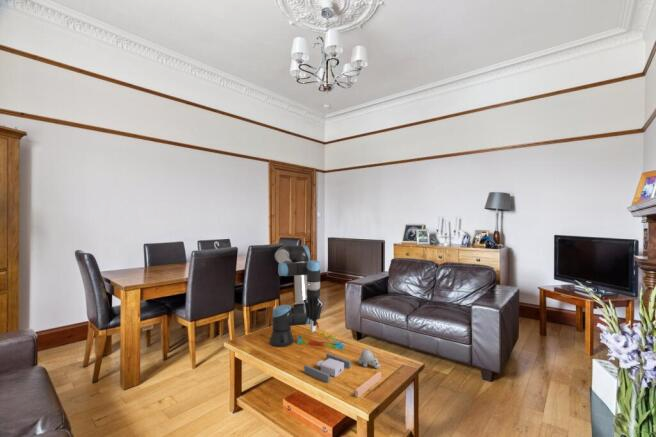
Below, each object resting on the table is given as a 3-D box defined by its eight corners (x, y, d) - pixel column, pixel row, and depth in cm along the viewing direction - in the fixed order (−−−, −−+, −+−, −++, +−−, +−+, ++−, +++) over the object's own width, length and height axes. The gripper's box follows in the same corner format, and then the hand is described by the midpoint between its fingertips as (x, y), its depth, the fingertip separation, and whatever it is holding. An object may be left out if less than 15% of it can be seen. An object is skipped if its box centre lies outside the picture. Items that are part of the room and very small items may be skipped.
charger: (321, 363, 173) (344, 370, 165) (311, 369, 165) (335, 378, 157) (321, 354, 173) (344, 361, 165) (311, 361, 165) (335, 368, 157)
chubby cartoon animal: (373, 376, 164) (379, 363, 162) (355, 362, 170) (360, 349, 168) (379, 370, 170) (385, 358, 168) (361, 357, 176) (366, 344, 174)
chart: (344, 347, 194) (344, 323, 194) (343, 349, 191) (343, 325, 191) (298, 342, 202) (299, 319, 202) (297, 344, 199) (297, 320, 199)
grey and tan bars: (302, 373, 161) (302, 366, 161) (328, 358, 178) (328, 352, 178) (357, 397, 139) (357, 390, 139) (381, 378, 157) (381, 371, 157)
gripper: (300, 288, 172) (299, 330, 172) (318, 291, 164) (317, 335, 164) (309, 285, 178) (308, 326, 178) (326, 289, 170) (326, 331, 170)
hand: (312, 330), depth 171 cm, fingers closed
